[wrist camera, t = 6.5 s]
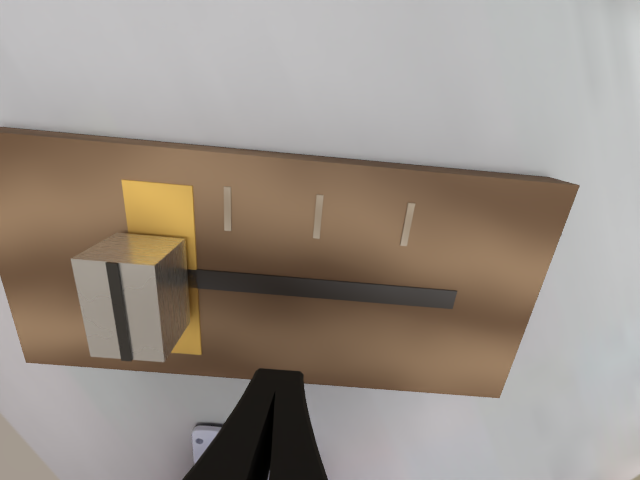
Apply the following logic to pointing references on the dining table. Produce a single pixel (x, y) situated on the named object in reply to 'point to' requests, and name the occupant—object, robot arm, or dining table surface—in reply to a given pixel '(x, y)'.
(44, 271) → the fader console
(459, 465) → the dining table surface
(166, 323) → the fader knob
